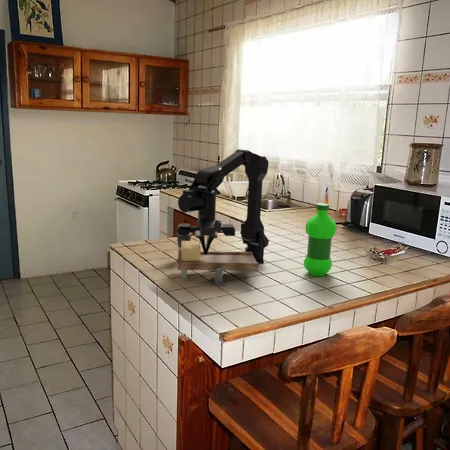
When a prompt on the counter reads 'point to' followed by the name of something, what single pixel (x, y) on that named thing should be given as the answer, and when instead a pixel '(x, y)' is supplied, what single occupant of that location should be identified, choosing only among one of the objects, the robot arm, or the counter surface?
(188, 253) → the tan wood-grain block
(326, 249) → the plastic bottle
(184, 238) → the sundae
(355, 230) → the counter surface
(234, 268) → the wooden tray
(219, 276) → the pivot stand
